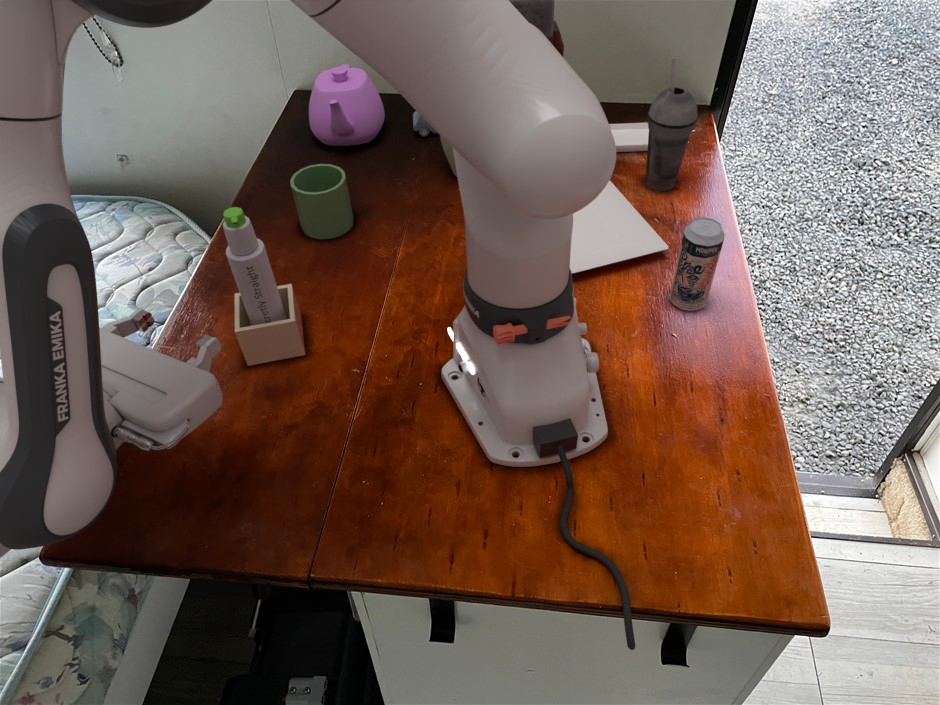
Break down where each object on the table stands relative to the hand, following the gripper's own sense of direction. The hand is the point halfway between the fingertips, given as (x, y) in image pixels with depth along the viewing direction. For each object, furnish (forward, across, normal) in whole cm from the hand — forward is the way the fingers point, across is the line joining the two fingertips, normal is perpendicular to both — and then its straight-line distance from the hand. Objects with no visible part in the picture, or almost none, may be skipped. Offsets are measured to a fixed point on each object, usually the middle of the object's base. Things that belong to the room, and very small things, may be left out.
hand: (180, 327), depth 76 cm
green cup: (+36, +8, +13) cm, 39 cm away
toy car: (+69, +6, +13) cm, 70 cm away
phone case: (+77, -25, +13) cm, 82 cm away
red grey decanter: (+76, -7, +13) cm, 78 cm away
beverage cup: (+67, -35, +13) cm, 76 cm away
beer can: (+41, -46, +13) cm, 63 cm away
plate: (+48, -25, +13) cm, 56 cm away
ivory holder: (+12, 0, +13) cm, 17 cm away
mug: (+59, -5, +13) cm, 60 cm away
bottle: (+12, 0, +13) cm, 17 cm away
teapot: (+60, +20, +13) cm, 64 cm away
